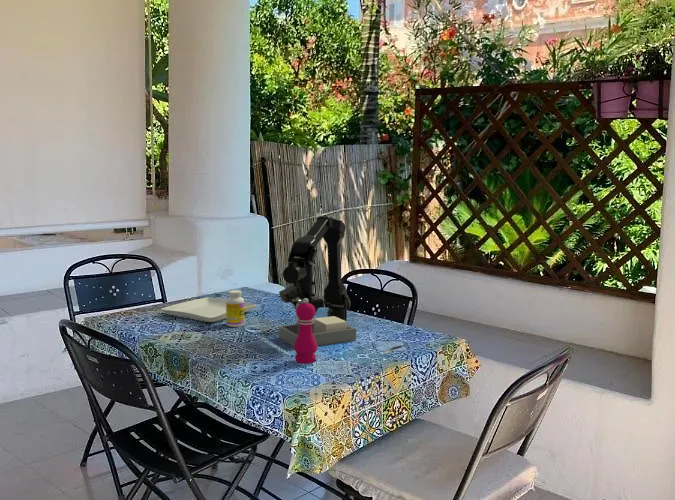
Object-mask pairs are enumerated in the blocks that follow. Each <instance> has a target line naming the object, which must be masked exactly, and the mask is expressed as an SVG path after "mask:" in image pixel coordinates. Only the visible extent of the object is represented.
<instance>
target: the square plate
mask: <svg viewBox="0 0 675 500" xmlns="http://www.w3.org/2000/svg"><path fill="white" fill-rule="evenodd" d="M227 299H228V298H225V299H224V298H219V297H218V298H216V297H210V296H209V297H208V296H207V297H202V298H197V299H193V300H188V301H184V302H180V303H176V304H173V305H169V306H166V307H162V308H160V311H162V312H163V313H164V314H167V315H169V316H172V315H173V317H177V316H178V317H177V318H181V317H184V318H183V319H187V318H189V319H188V320H192V319H194V320H193V321H197V320H199V322H203V321H204V322H205V323H214V322H221V321H223V320H226V300H227ZM256 307H257V304H255V303H250V302H245V301H244V314H245V313H248V312H250V311H253V309H255V308H256ZM204 322H203V323H204Z"/></svg>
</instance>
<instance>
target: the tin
mask: <svg viewBox="0 0 675 500" xmlns="http://www.w3.org/2000/svg"><path fill="white" fill-rule="evenodd" d="M301 303H303V302H298V303H296V308H297V306H298V305H299V304H301ZM295 315H296V317H295V320H296V322H295V324H296V333H298V334H299V324H298V318H299V317H298V316H297V314H296V313H295Z"/></svg>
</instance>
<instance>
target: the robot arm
mask: <svg viewBox="0 0 675 500" xmlns="http://www.w3.org/2000/svg"><path fill="white" fill-rule="evenodd" d="M346 228H347V227H346V224H345V223H344V222H343V220H341V219H335V218H333V217H332V216H327V215H319V216H317V217H316V220H315V222H314V223H313V225H312V226H311V228H310V229H309V230H308V232H307V233H306V234H305V235H304V236H300V237H298V239H296V240H295V241H294V242H293V244H292V245H291V250H290V253H289V255H288V259H287V262H288V263H287V265H288V266H287V267H284V269H283V272H282V278H283V280H284V281H285V282H286V283H287V284H290V285H291V286H288V287H285V288H284V289H282V290H280V291H279V292H278V294H279V297H280V300H281V302H284V303H286V304H288V303H290V304H291V305H293V307H294V310H295V311H296V303H298V302H303V299H304V298H307V299H308V301H309V302H308V303H310V304H312V305H313V306H314V307H315V314H316V313H317V311H318V310H319V309H321V308H326V309H328V311H327V313H326V314H327V315H326V317H331V316H335V317H337V318H340V319H342V320H344V321H346V322H347V321H348V317H347V316H348V310H349V309H350V308H351V302H352V301H351V299H350V297H349V295H348V293H347V292H348V291H347V287H346V286H345V283H343V281H342V261H341V260H342V253H341V252H342V251H341V243H342V241H343V239H344V238H345V233H346ZM321 239H323V240H324V242H325V244H326V246H327V247H326V248H327V269H328V270H327V272H328V273H327V277H328V283H327V284H326V287H324V289H323V298H320V297H318V296H316V293H314V292H313V291H314V290H313V289H314V287H313V286H315V285H316V281H315V280H313V279H314V275H313V274H314V272H313V271H314V270H313V269H314V267H313V265H314V264H315V260H314V259H315V257H316V255H317V253H318V245H319V242H320V241H321ZM314 317H315V315H314V316H313V318H314Z"/></svg>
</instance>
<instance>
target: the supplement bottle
mask: <svg viewBox="0 0 675 500" xmlns="http://www.w3.org/2000/svg"><path fill="white" fill-rule="evenodd" d="M228 296H229V297H227V298H226V299H227V300H226V319H225V320H226V321H225V322H226V326H227V327H229V328H231V327H232V328H239V327H240V328H241V327H242V326H244V325H245V313H244V302H245V299H244V298H243V297H242V291H241V290H237V289H235V290H233V289H232V290H229V291H228Z"/></svg>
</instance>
